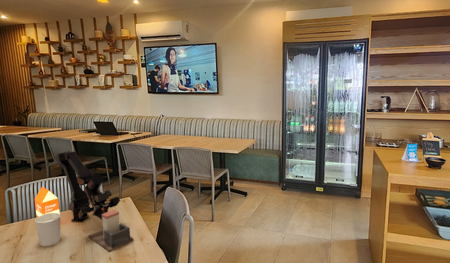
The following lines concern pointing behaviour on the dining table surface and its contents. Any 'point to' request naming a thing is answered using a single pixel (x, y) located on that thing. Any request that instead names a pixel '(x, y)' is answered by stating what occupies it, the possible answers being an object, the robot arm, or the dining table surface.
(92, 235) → the switch base
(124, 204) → the dining table surface
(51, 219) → the white cup
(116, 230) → the switch lever
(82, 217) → the robot arm
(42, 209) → the orange juice
